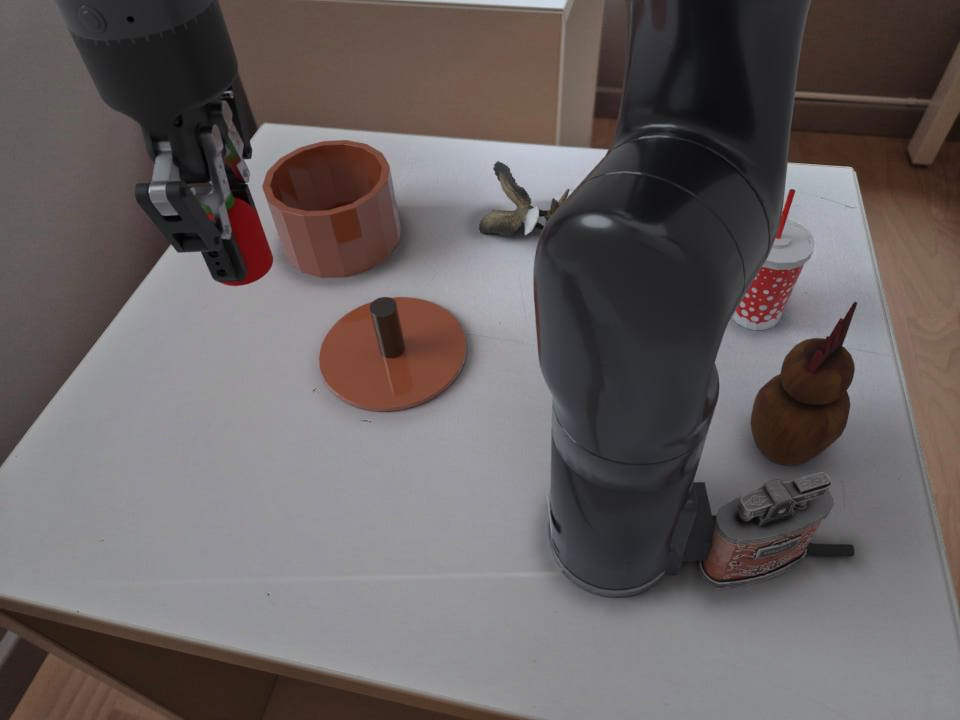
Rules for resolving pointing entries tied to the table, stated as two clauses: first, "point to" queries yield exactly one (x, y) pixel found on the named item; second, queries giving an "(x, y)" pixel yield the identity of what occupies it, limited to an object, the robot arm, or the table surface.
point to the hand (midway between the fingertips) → (239, 252)
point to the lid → (392, 354)
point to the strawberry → (248, 239)
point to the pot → (333, 207)
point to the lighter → (766, 531)
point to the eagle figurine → (524, 213)
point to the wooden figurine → (806, 399)
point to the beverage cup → (776, 274)
